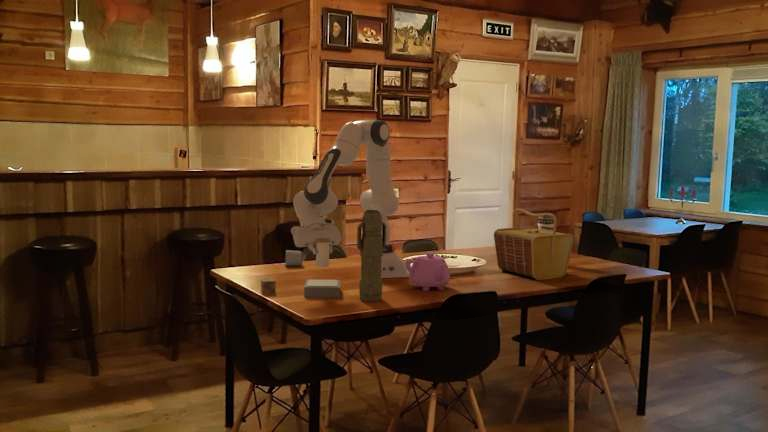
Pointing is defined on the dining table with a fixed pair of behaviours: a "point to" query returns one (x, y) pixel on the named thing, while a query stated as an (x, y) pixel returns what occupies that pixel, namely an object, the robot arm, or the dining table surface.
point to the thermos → (371, 255)
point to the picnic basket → (533, 250)
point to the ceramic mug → (293, 258)
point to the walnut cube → (268, 286)
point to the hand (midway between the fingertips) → (323, 253)
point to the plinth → (322, 288)
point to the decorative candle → (546, 223)
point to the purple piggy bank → (428, 272)
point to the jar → (322, 252)
